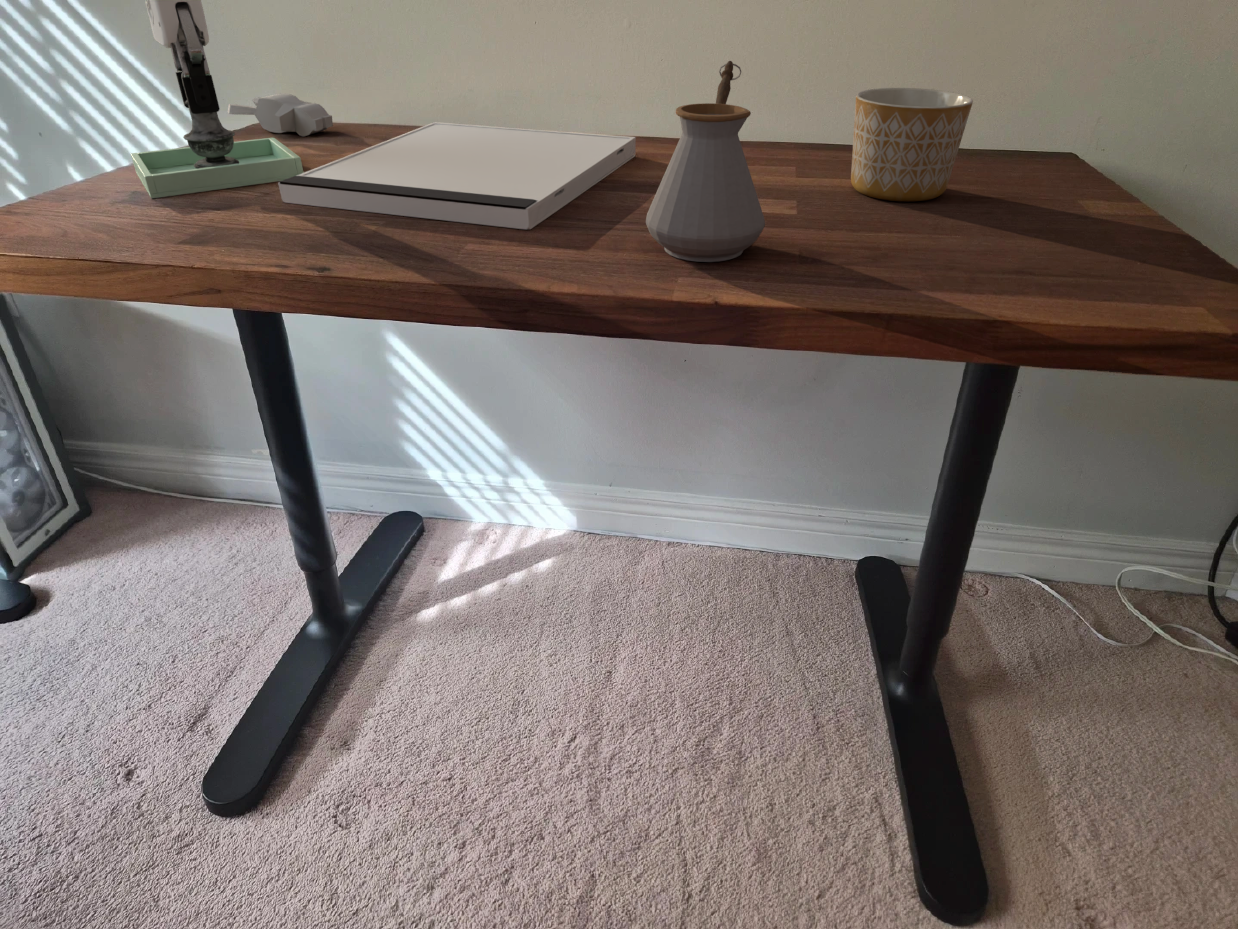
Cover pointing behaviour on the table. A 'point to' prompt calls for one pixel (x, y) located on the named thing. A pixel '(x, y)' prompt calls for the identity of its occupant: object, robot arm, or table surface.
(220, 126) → the salt shaker
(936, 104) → the planter
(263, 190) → the table surface
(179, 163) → the serving tray
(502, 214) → the flat white box
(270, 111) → the grey blocky piece
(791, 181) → the table surface
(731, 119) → the coffee pot
